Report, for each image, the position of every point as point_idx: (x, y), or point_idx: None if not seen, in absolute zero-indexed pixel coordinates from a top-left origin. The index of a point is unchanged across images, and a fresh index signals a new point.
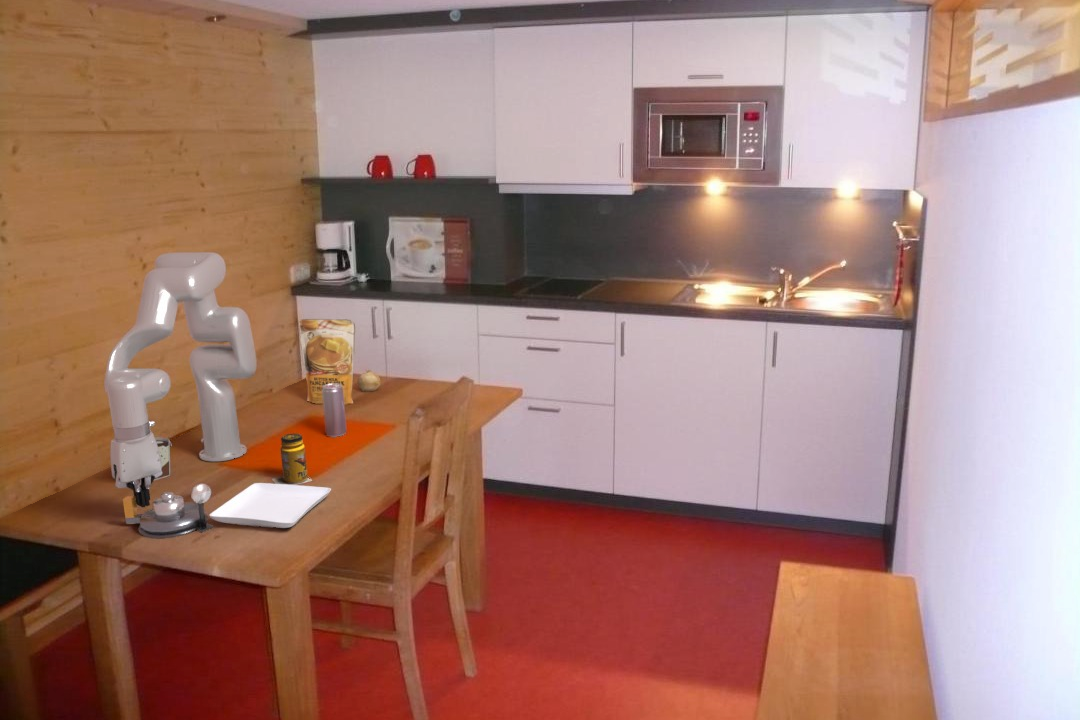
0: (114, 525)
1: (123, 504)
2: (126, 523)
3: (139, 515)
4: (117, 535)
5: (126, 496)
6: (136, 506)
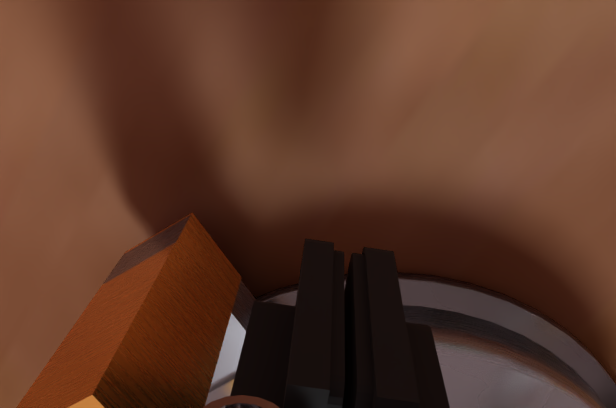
0: (83, 96)
1: (27, 394)
2: (125, 254)
3: (222, 349)
4: (7, 305)
5: (84, 403)
6: (210, 372)
